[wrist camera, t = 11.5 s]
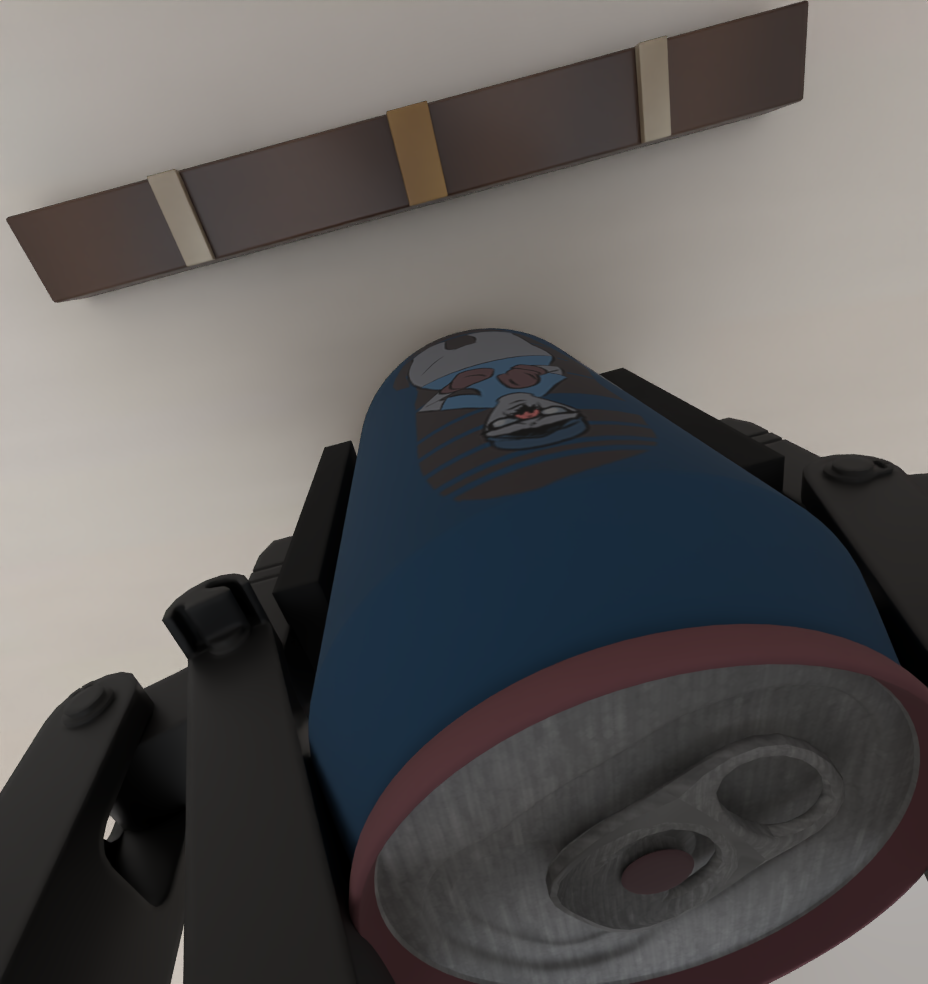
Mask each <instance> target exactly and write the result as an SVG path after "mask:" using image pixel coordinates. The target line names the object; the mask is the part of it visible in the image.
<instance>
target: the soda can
mask: <svg viewBox="0 0 928 984" xmlns="http://www.w3.org/2000/svg"><path fill="white" fill-rule="evenodd" d="M308 735H309V747H310V755H311V760H312V764H313V767H314V770H315V773H316V776H317V779H318V781H319V784H320V787H321V790H322V793H323V795H324V798H325V801H326V804H327V806H328V809H329V812H330V815H331V817H332V820H333V822H334V825H335V827H336V830H337V832H338V835H339V837H340V840H341V842H342V845H343V847H344V850H345V852H346V855H347V857H348V860H349V862H350V864H351V867H352V868H351V874H350V883H349V915H350V918H351V921H352V923H353V925H354V926H355V928H356V929H357V931H358V932H359V934H360V935H361V936H362V937H363V938H365V939H366V940H367V941H368V942H369V943H370V944H371V945H372V946H373V948H374V949H375V950H376V952H377V953H378V954H379V956H380V958H381V959H382V961H383V962H384V964H385V965H386V967H387V969H388V971H389V972H390V974H391V976H392V978H393V979H394V981H395V983H396V984H769V983H771V982H773V981H775V980H777V979H779V978H780V977H783V976H785V975H786V974H788V973H790V972H792V971H794V970H796V969H797V968H799V967H801V966H803V965H805V964H806V963H808V962H810V961H812V960H813V959H815V958H817V957H819V956H820V955H822V954H824V953H825V952H827V951H829V950H830V949H832V948H834V947H835V946H837V945H838V944H840V943H841V942H843V941H845V940H846V939H848V938H849V937H851V936H852V935H853V934H855V933H856V932H858V931H859V930H861V929H862V928H864V927H865V926H866V925H868V924H869V923H870V922H872V921H873V920H874V919H875V918H877V917H878V916H879V915H880V914H882V913H883V912H884V911H886V910H887V909H888V908H889V907H890V906H892V905H893V904H894V903H895V902H896V901H897V900H898V899H899V898H900V897H901V896H903V895H904V894H905V893H906V892H907V891H908V890H909V888H911V887H912V886H913V885H914V884H915V883H916V882H917V881H918V879H919V878H920V877H921V876H922V875H923V874H924V873H925V872H926V870H927V869H928V688H927V687H926V686H925V685H924V684H923V683H922V682H921V681H919V680H918V679H917V678H916V677H915V676H914V675H912V674H911V673H910V672H908V671H907V670H906V669H904V668H903V667H901V665H900V663H899V661H898V658H897V656H896V653H895V651H894V648H893V646H892V643H891V641H890V638H889V636H888V634H887V631H886V629H885V626H884V624H883V621H882V619H881V617H880V614H879V612H878V609H877V607H876V605H875V603H874V600H873V598H872V596H871V593H870V591H869V589H868V587H867V585H866V583H865V580H864V578H863V576H862V574H861V572H860V570H859V568H858V566H857V565H856V563H855V561H854V560H853V558H852V557H851V555H850V554H849V552H848V550H847V549H846V548H845V547H844V545H843V544H842V543H841V542H840V541H839V539H838V538H837V537H836V536H835V535H834V533H833V532H831V531H830V530H829V529H828V528H827V527H826V526H825V525H824V524H823V523H822V522H821V521H820V520H819V519H817V518H816V517H815V516H813V515H812V514H811V513H809V512H808V511H807V510H805V509H804V508H802V507H801V506H799V505H798V504H796V503H795V502H793V501H792V500H790V499H789V498H787V497H786V496H784V495H783V494H781V493H779V492H778V491H776V490H775V489H773V488H772V487H770V486H769V485H767V484H766V483H764V482H763V481H761V480H760V479H758V478H757V477H755V476H754V475H752V474H750V473H749V472H747V471H746V470H744V469H743V468H741V467H740V466H738V465H737V464H735V463H734V462H732V461H731V460H729V459H728V458H726V457H724V456H723V455H721V454H720V453H718V452H717V451H715V450H714V449H712V448H711V447H709V446H708V445H706V444H705V443H703V442H702V441H700V440H699V439H697V438H695V437H694V436H692V435H691V434H689V433H688V432H686V431H685V430H683V429H682V428H680V427H679V426H677V425H676V424H674V423H673V422H671V421H670V420H668V419H666V418H665V417H663V416H662V415H660V414H659V413H657V412H656V411H654V410H653V409H651V408H650V407H648V406H647V405H645V404H644V403H642V402H640V401H639V400H637V399H636V398H634V397H633V396H631V395H630V394H628V393H627V392H625V391H624V390H622V389H621V388H619V387H618V386H616V385H615V384H613V383H611V382H610V381H608V380H607V379H605V378H604V377H602V376H601V375H599V374H598V373H596V372H595V371H593V370H592V369H590V368H589V367H587V366H585V365H584V364H582V363H581V362H579V361H578V360H576V359H575V358H573V357H572V356H570V355H569V354H567V353H566V352H564V351H563V350H561V349H560V348H558V347H556V346H555V345H553V344H551V343H549V342H547V341H545V340H543V339H541V338H539V337H536V336H533V335H530V334H527V333H524V332H519V331H515V330H508V329H495V328H488V329H475V330H468V331H463V332H459V333H455V334H452V335H448V336H446V337H443V338H441V339H438V340H436V341H434V342H432V343H430V344H428V345H426V346H424V347H423V348H421V349H419V350H418V351H416V352H415V353H413V354H412V355H411V356H409V357H408V358H407V359H406V360H404V361H403V362H402V363H401V364H400V365H399V366H398V367H397V368H396V369H395V370H394V371H393V372H392V373H391V374H390V375H389V376H388V378H387V379H386V380H385V381H384V383H383V384H382V385H381V387H380V388H379V390H378V392H377V393H376V395H375V397H374V399H373V401H372V403H371V405H370V407H369V409H368V412H367V414H366V417H365V421H364V424H363V428H362V433H361V438H360V443H359V449H358V454H357V459H356V465H355V470H354V475H353V480H352V486H351V491H350V496H349V502H348V507H347V512H346V518H345V523H344V528H343V534H342V539H341V544H340V549H339V555H338V560H337V565H336V571H335V576H334V581H333V587H332V592H331V597H330V603H329V608H328V613H327V618H326V624H325V629H324V634H323V640H322V645H321V650H320V656H319V661H318V666H317V672H316V677H315V682H314V687H313V693H312V698H311V703H310V712H309V721H308Z"/></svg>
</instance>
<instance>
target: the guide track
mask: <svg viewBox="0 0 928 984" xmlns="http://www.w3.org/2000/svg"><path fill="white" fill-rule="evenodd" d="M807 19H808V1H802V2H798V3H795V4H791V5H787V6H784V7H780V8H776V9H772V10H769V11H765V12H761V13H758V14H754V15H750V16H747V17H743V18H739V19H736V20H732V21H728V22H725V23H721V24H717V25H714V26H710V27H706V28H703V29H699V30H695V31H691V32H688V33H684V34H680V35H677V36H673V37H669V38H667V36H663V37H659V38H655V39H652V40H648V41H644V42H640V43H639V44H637V45H636V46H635V47H633V48H629V49H625V50H622V51H618V52H614V53H610V54H607V55H603V56H599V57H596V58H592V59H588V60H585V61H581V62H577V63H574V64H570V65H566V66H563V67H559V68H555V69H552V70H548V71H544V72H540V73H537V74H533V75H529V76H526V77H522V78H518V79H515V80H511V81H507V82H504V83H500V84H496V85H493V86H489V87H485V88H482V89H478V90H474V91H471V92H467V93H463V94H459V95H456V96H452V97H448V98H445V99H441V100H437V101H434V102H430V103H427V101H423V102H420V103H416V104H412V105H408V106H405V107H401V108H397V109H394V110H390V111H387V112H386V115H382V116H378V117H375V118H371V119H367V120H364V121H360V122H356V123H353V124H349V125H345V126H342V127H338V128H334V129H331V130H327V131H323V132H320V133H316V134H312V135H308V136H305V137H301V138H297V139H294V140H290V141H286V142H283V143H279V144H275V145H272V146H268V147H264V148H261V149H257V150H253V151H250V152H246V153H242V154H239V155H235V156H231V157H227V158H224V159H220V160H216V161H213V162H209V163H205V164H202V165H198V166H194V167H191V168H187V169H183V170H180V171H178V170H175V169H173V170H169V171H165V172H162V173H158V174H154V175H151V176H147V179H146V180H143V181H139V182H135V183H132V184H128V185H124V186H121V187H117V188H113V189H110V190H106V191H102V192H99V193H95V194H91V195H88V196H84V197H80V198H76V199H73V200H69V201H65V202H62V203H58V204H54V205H51V206H47V207H43V208H40V209H36V210H32V211H29V212H25V213H21V214H18V215H14V216H10V217H8V218H7V219H6V220H7V222H8V224H9V226H10V228H11V229H12V231H13V233H14V234H15V236H16V238H17V240H18V241H19V243H20V245H21V247H22V248H23V250H24V252H25V253H26V255H27V257H28V259H29V260H30V262H31V264H32V266H33V267H34V269H35V271H36V272H37V274H38V276H39V278H40V279H41V281H42V283H43V284H44V286H45V288H46V290H47V291H48V293H49V295H50V297H51V298H52V300H53V301H54V302H57V303H58V302H64V301H70V300H76V299H82V298H87V297H91V296H95V295H98V294H102V293H106V292H110V291H113V290H117V289H121V288H124V287H128V286H132V285H135V284H139V283H143V282H146V281H150V280H154V279H157V278H161V277H165V276H168V275H172V274H176V273H180V272H183V271H187V270H191V269H194V268H198V267H202V266H205V265H209V264H213V263H216V262H220V261H224V260H227V259H231V258H235V257H238V256H242V255H246V254H250V253H253V252H257V251H261V250H264V249H268V248H272V247H275V246H279V245H283V244H286V243H290V242H294V241H297V240H301V239H305V238H309V237H312V236H316V235H320V234H323V233H327V232H331V231H334V230H338V229H342V228H345V227H349V226H353V225H356V224H360V223H364V222H367V221H371V220H375V219H379V218H382V217H386V216H390V215H393V214H397V213H401V212H404V211H408V210H412V209H415V208H419V207H423V206H426V205H430V204H434V203H437V202H441V201H445V200H449V199H452V198H456V197H460V196H463V195H467V194H471V193H474V192H478V191H482V190H485V189H489V188H493V187H496V186H500V185H504V184H507V183H511V182H515V181H519V180H522V179H526V178H530V177H533V176H537V175H541V174H544V173H548V172H552V171H555V170H559V169H563V168H566V167H570V166H574V165H578V164H581V163H585V162H589V161H592V160H596V159H600V158H603V157H607V156H611V155H614V154H618V153H622V152H625V151H629V150H633V149H636V148H640V147H644V146H648V145H651V144H655V143H659V142H662V141H666V140H670V139H673V138H677V137H681V136H684V135H688V134H692V133H695V132H699V131H703V130H706V129H710V128H714V127H718V126H721V125H725V124H729V123H732V122H736V121H740V120H743V119H747V118H751V117H754V116H758V115H762V114H765V113H768V112H771V111H774V110H777V109H779V108H782V107H785V106H788V105H791V104H793V103H796V102H799V101H801V100H802V99H803V92H804V73H805V55H806V37H807Z"/></svg>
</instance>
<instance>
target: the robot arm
mask: <svg viewBox="0 0 928 984" xmlns="http://www.w3.org/2000/svg"><path fill="white" fill-rule="evenodd" d="M599 375H601V376H602V377H604V378H605V379H607V380H608V381H610V382H611V383H613V384H615V385H616V386H618V387H619V388H621V389H622V390H624V391H625V392H627V393H628V394H630V395H631V396H633V397H634V398H636V399H637V400H639V401H640V402H642V403H644V404H645V405H647V406H648V407H650V408H651V409H653V410H654V411H656V412H657V413H659V414H660V415H662V416H663V417H665V418H666V419H668V420H670V421H671V422H673V423H674V424H676V425H677V426H679V427H680V428H682V429H683V430H685V431H686V432H688V433H689V434H691V435H692V436H694V437H695V438H697V439H699V440H700V441H702V442H703V443H705V444H706V445H708V446H709V447H711V448H712V449H714V450H715V451H717V452H718V453H720V454H721V455H723V456H724V457H726V458H728V459H729V460H731V461H732V462H734V463H735V464H737V465H738V466H740V467H741V468H743V469H744V470H746V471H747V472H749V473H750V474H752V475H754V476H755V477H757V478H758V479H760V480H761V481H763V482H764V483H766V484H767V485H769V486H770V487H772V488H773V489H775V490H776V491H778V492H779V493H781V494H783V495H784V496H786V497H787V498H789V499H790V500H792V501H793V502H795V503H796V504H798V505H799V506H801V507H802V508H804V509H805V510H807V511H808V512H809V513H811V514H812V515H813V516H815V517H816V518H817V519H819V520H820V521H821V522H822V523H823V524H824V525H825V526H826V527H827V528H828V529H829V530H830V531H831V532H833V533H834V535H835V536H836V537H837V538H838V539H839V541H840V542H841V543H842V544H843V545H844V547H845V548H846V549H847V550H848V552H849V554H850V555H851V557H852V558H853V560H854V561H855V563H856V565H857V566H858V568H859V570H860V572H861V574H862V576H863V578H864V580H865V583H866V585H867V587H868V589H869V591H870V593H871V596H872V598H873V600H874V603H875V605H876V607H877V609H878V612H879V614H880V617H881V619H882V621H883V624H884V626H885V629H886V631H887V634H888V636H889V638H890V641H891V643H892V646H893V648H894V651H895V653H896V656H897V658H898V661H899V663H900V665H901V667H903V668H904V669H906V670H907V671H908V672H910V673H911V674H912V675H914V676H915V677H916V678H917V679H918V680H919V681H921V682H922V683H923V684H924V685H925V686H926V687H927V688H928V473H925V474H914V475H907V474H906V473H905V472H904V471H903V470H902V469H901V468H899V467H898V466H896V465H894V464H893V463H891V462H889V461H886V460H883V459H879V458H876V457H872V456H864V455H855V454H846V455H831V456H826V457H819V456H817V455H815V454H813V453H811V452H809V451H807V450H805V449H803V448H801V447H799V446H797V445H795V444H793V443H791V442H789V441H787V440H782V438H781V437H779V436H777V435H775V434H773V433H768V430H766V429H764V428H762V427H760V426H758V425H756V424H754V423H752V422H747V421H742V420H737V419H732V418H726V419H722V420H718V419H716V418H714V417H712V416H710V415H708V414H707V413H705V412H703V411H701V410H699V409H698V408H696V407H694V406H692V405H690V404H688V403H687V402H685V401H683V400H681V399H679V398H677V397H676V396H674V395H672V394H670V393H668V392H666V391H665V390H663V389H661V388H659V387H657V386H655V385H654V384H652V383H650V382H648V381H646V380H645V379H643V378H641V377H639V376H637V375H635V374H634V373H632V372H630V371H628V370H626V369H624V368H620V369H616V370H613V371H609V372H605V373H601V374H599ZM356 459H357V455H356V452H355V449H354V447H353V444H352V441H347V442H343V443H340V444H336V445H332V446H328V447H325V448H324V451H323V454H322V456H321V459H320V462H319V465H318V467H317V470H316V473H315V476H314V478H313V481H312V484H311V487H310V490H309V492H308V495H307V498H306V501H305V503H304V506H303V509H302V512H301V514H300V517H299V520H298V523H297V526H296V528H295V531H294V534H293V536H290V537H287V538H283V539H279V540H275V541H273V542H272V543H271V544H270V545H269V546H268V547H267V548H266V549H265V550H264V551H263V552H262V554H261V555H260V556H259V558H258V560H257V562H256V564H255V567H254V569H253V573H251V576H250V578H249V580H247V578H246V577H245V576H244V575H240V574H227V575H221V576H218V577H215V578H212V579H209V580H206V581H204V582H202V583H200V584H199V585H197V586H195V587H193V588H191V589H189V590H188V591H187V592H185V593H184V594H183V595H181V596H180V597H179V598H177V599H176V600H175V601H174V602H173V603H172V605H171V606H170V607H169V608H168V609H167V610H166V612H165V615H164V617H163V619H162V621H163V622H164V624H165V625H166V627H167V628H168V630H169V631H170V633H171V635H172V636H173V638H174V639H175V641H176V642H177V644H178V645H179V647H180V648H181V650H182V651H183V653H184V654H185V656H186V657H187V659H188V667H187V668H185V669H183V670H181V671H179V672H177V673H175V674H173V675H171V676H169V677H167V678H165V679H163V680H161V681H159V682H156V683H154V684H152V685H150V686H148V687H146V688H144V689H143V687H142V686H141V685H140V683H139V682H138V681H137V679H136V678H135V677H134V675H133V674H131V673H125V672H119V673H115V674H110V675H106V676H104V677H102V678H100V679H97V680H95V681H91V682H89V683H87V684H86V685H84V686H82V688H81V689H80V688H79V689H78V690H76V691H75V692H73V693H72V694H71V695H70V696H69V697H68V698H67V699H66V700H65V701H64V702H63V703H61V704H60V705H59V706H58V707H57V708H56V709H55V710H54V711H53V713H52V714H51V715H50V716H49V718H48V719H47V720H46V721H45V723H44V724H43V726H42V727H41V729H40V730H39V732H38V734H37V735H36V737H35V738H34V740H33V742H32V743H31V745H30V746H29V748H28V750H27V751H26V753H25V754H24V756H23V758H22V759H21V761H20V762H19V764H18V766H17V767H16V769H15V770H14V772H13V774H12V775H11V777H10V778H9V780H8V781H7V783H6V785H5V786H4V788H3V789H2V791H1V793H0V984H170V983H171V979H172V974H173V970H174V966H175V961H176V957H177V952H178V948H179V943H180V939H181V935H182V930H183V926H184V970H183V984H396V983H395V981H394V979H393V978H392V976H391V974H390V972H389V971H388V969H387V967H386V965H385V964H384V962H383V961H382V959H381V958H380V956H379V954H378V953H377V952H376V950H375V949H374V948H373V946H372V945H371V944H370V943H369V942H368V941H367V940H366V939H365V938H363V937H362V936H361V935H360V934H359V932H358V931H357V929H356V928H355V926H354V925H353V923H352V921H351V918H350V915H349V883H350V874H351V868H352V867H351V864H350V862H349V860H348V857H347V855H346V852H345V850H344V847H343V845H342V842H341V840H340V837H339V835H338V832H337V830H336V827H335V825H334V822H333V820H332V817H331V815H330V812H329V809H328V806H327V804H326V801H325V798H324V795H323V793H322V790H321V787H320V784H319V781H318V779H317V776H316V773H315V770H314V767H313V764H312V760H311V755H310V747H309V735H308V721H309V712H310V703H311V698H312V693H313V687H314V682H315V677H316V672H317V666H318V661H319V656H320V650H321V645H322V640H323V634H324V629H325V624H326V618H327V613H328V608H329V603H330V597H331V592H332V587H333V581H334V576H335V571H336V565H337V560H338V555H339V549H340V544H341V539H342V534H343V528H344V523H345V518H346V512H347V507H348V502H349V496H350V491H351V486H352V480H353V475H354V470H355V465H356ZM109 815H110V816H111V817H112V818H113V819H114V820H115V821H116V822H115V824H114V827H113V829H112V832H111V834H110V836H109V838H108V839H107V840H105V839H103V837H104V833H105V828H106V824H107V820H108V818H109ZM924 874H925V876H926V878H927V881H928V869H927V870H926V872H925V873H924Z"/></svg>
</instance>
